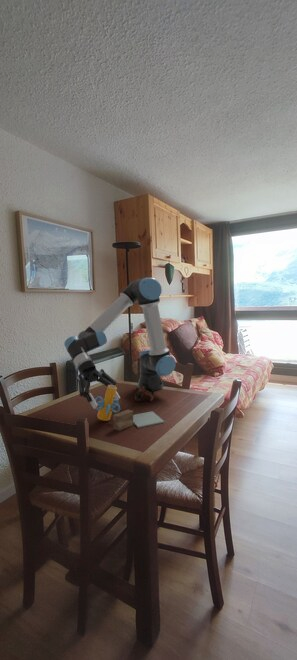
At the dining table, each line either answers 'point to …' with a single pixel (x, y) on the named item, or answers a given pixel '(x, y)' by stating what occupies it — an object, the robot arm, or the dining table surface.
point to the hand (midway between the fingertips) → (107, 403)
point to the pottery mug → (144, 389)
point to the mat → (146, 419)
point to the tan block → (123, 420)
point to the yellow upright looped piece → (107, 404)
